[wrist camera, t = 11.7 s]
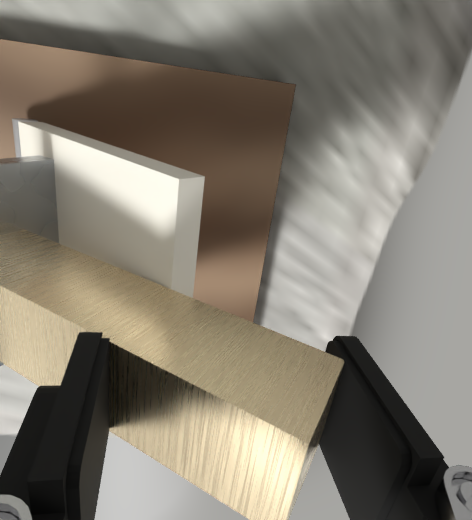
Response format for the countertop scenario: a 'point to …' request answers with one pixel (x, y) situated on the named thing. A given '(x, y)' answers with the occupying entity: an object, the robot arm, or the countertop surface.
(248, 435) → the trowel
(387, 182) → the countertop surface
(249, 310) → the board
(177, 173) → the tile
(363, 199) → the countertop surface
